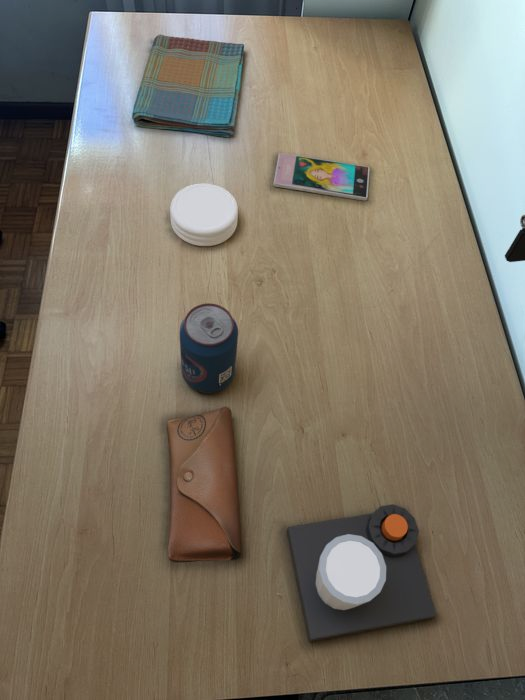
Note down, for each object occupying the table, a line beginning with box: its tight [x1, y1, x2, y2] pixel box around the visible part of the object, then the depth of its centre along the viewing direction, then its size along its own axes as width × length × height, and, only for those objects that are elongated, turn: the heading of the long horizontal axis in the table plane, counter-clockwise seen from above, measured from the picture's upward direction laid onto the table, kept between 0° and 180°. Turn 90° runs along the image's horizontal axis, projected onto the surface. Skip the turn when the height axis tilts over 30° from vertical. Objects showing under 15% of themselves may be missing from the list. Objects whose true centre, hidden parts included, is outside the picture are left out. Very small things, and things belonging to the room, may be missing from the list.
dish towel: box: [131, 34, 245, 138], centre depth 115 cm, size 17×23×2 cm
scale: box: [286, 503, 437, 643], centre depth 74 cm, size 14×12×4 cm
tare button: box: [382, 514, 408, 541], centre depth 74 cm, size 3×3×2 cm
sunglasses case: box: [166, 406, 243, 562], centre depth 78 cm, size 18×7×7 cm
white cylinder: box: [316, 534, 386, 610], centre depth 70 cm, size 7×7×7 cm
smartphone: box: [272, 152, 370, 202], centre depth 107 cm, size 7×1×15 cm
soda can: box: [179, 302, 239, 394], centre depth 82 cm, size 7×7×12 cm
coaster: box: [169, 182, 239, 247], centre depth 99 cm, size 10×10×4 cm
